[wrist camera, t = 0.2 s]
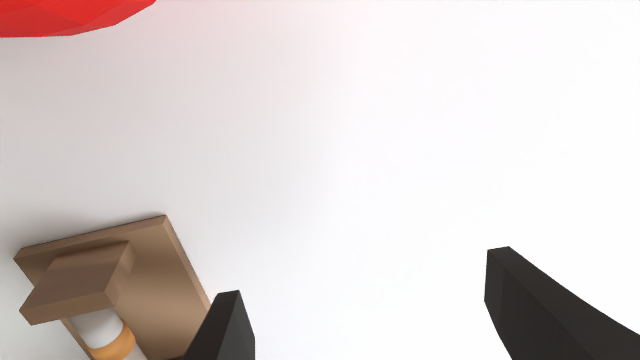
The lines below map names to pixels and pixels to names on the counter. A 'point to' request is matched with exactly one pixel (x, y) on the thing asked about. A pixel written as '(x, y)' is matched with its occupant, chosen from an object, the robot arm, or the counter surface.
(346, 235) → the counter surface
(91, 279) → the towel rail
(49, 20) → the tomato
